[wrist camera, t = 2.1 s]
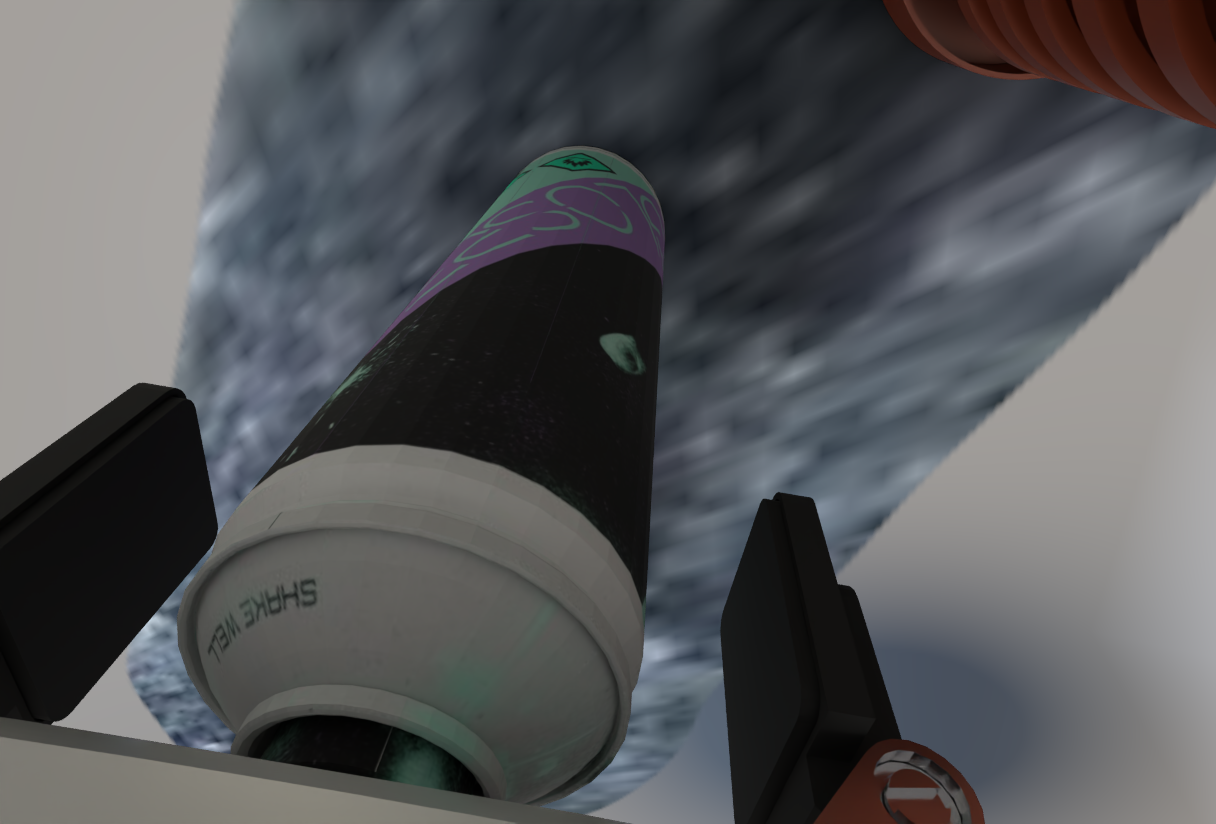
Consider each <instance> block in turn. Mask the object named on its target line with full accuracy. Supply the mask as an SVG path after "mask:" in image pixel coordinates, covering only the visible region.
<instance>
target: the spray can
mask: <svg viewBox="0 0 1216 824" xmlns="http://www.w3.org/2000/svg"><path fill="white" fill-rule="evenodd" d="M664 248H665V228H664V218H663V214H662V210H661V206H660V202H659V200H658V198H657V196H656V194H655V192H654V189H653V188H652V186H651V185H650V183H649V182H648V181H647V179H646V178H645V177H644V175H643V174H642V173H641V172H640V171H639V170H638V169H636V168H635V167H634V166H633V165H632V164H631V163H630V162H628V161H626V160H625V159H623V158H622V157H620V156H618V155H617V154H615V153H612V152H609V151H606V150H603V149H600V148H595V147H588V146H571V147H563V148H560V149H557V150H553V151H550V152H548V153H546V154H544V155H542V156H540V157H538V158H537V159H535V160H534V161H532V162H531V163H530V164H529V165H528V166H526V167H525V168H524V169H523V170H522V171H521V172H519V174H518V175H517V176H516V177H515V178H514V180H513V181H512V182H511V183H510V184H509V185H508V187H507V188H506V189H505V190H504V191H503V193H502V194H501V195H500V196H499V197H498V199H497V200H496V201H495V202H494V203H493V204H492V206H491V207H490V208H489V209H488V210H487V212H486V213H485V214H484V215H483V216H482V218H481V219H480V220H479V221H478V222H477V223H476V225H475V226H474V227H473V228H472V229H471V231H470V232H469V233H468V234H467V235H466V237H465V238H464V239H463V240H462V241H461V242H460V244H459V245H458V246H457V247H456V248H455V250H454V251H453V252H452V253H451V254H450V256H449V257H448V258H447V259H446V260H445V261H444V263H443V264H442V265H441V266H440V267H439V269H438V270H437V271H436V272H435V273H434V275H433V276H432V277H431V278H430V279H429V280H428V282H427V283H426V284H425V285H424V286H423V288H422V289H421V290H420V291H419V292H418V294H417V295H416V296H415V297H414V298H413V299H412V301H411V302H410V303H409V304H408V305H407V307H406V308H405V309H404V310H403V311H402V313H401V314H400V315H399V316H398V317H397V318H396V320H395V321H394V322H393V323H392V324H391V326H390V327H389V328H388V329H387V330H386V332H385V333H384V334H383V335H382V336H381V337H380V339H379V340H378V341H377V342H376V343H375V345H374V346H373V347H372V348H371V349H370V351H369V352H368V353H367V354H366V355H365V357H364V358H363V359H362V360H361V361H360V362H359V364H358V365H357V366H356V367H355V368H354V370H353V371H352V372H351V373H350V374H349V376H348V377H347V378H346V379H345V380H344V381H343V383H342V384H341V385H340V386H339V387H338V389H337V390H336V391H335V392H334V393H333V395H332V396H331V397H330V398H329V399H328V400H327V402H326V403H325V404H324V405H323V406H322V408H321V409H320V410H319V411H318V412H317V414H316V415H315V416H314V417H313V418H312V419H311V421H310V422H309V423H308V424H307V425H306V427H305V428H304V429H303V430H302V431H301V433H300V434H299V435H298V436H297V437H296V438H295V440H294V441H293V442H292V443H291V444H290V446H289V447H288V448H287V449H286V450H285V452H284V453H283V454H282V455H281V456H280V457H279V459H278V460H277V461H276V462H275V463H274V465H273V466H272V467H271V468H270V469H269V471H268V472H267V473H266V474H265V475H264V476H263V478H262V479H261V480H260V481H259V482H258V484H257V485H256V486H255V487H254V488H253V490H252V491H251V492H250V493H249V494H248V495H247V497H246V498H245V499H244V500H243V501H242V503H241V504H240V505H239V506H238V507H237V509H236V510H235V511H234V513H233V514H232V516H231V517H230V518H229V520H228V521H227V522H226V524H225V525H224V527H223V528H222V529H221V531H220V532H219V534H218V535H217V538H216V541H215V545H214V548H213V551H212V554H211V556H210V557H209V558H208V560H207V561H206V562H205V563H204V565H203V566H202V567H201V569H200V570H199V571H198V573H197V574H196V575H195V577H194V578H193V580H192V581H191V582H190V584H189V585H188V586H187V588H186V589H185V592H184V595H183V598H182V602H181V605H180V609H179V612H178V615H177V631H178V647H179V650H180V653H181V656H182V659H183V661H184V664H185V667H186V670H187V673H188V676H189V677H190V679H191V681H192V682H193V684H194V686H195V687H196V689H197V690H198V692H199V694H200V695H201V697H202V698H203V700H204V702H205V703H206V704H207V705H208V706H209V707H210V709H211V710H212V711H213V712H214V713H215V714H216V715H217V716H218V717H219V719H220V720H221V721H222V722H223V723H224V724H225V725H226V726H227V727H228V728H229V729H230V730H231V731H232V732H234V733H235V734H236V737H235V739H234V741H233V744H232V746H231V754H232V755H238V756H244V757H250V758H256V759H262V760H268V761H274V762H280V763H286V764H292V765H298V766H304V767H310V768H316V769H322V770H328V771H333V772H339V773H345V774H351V775H357V776H363V777H369V778H375V779H381V780H387V781H393V782H399V783H405V784H410V785H416V786H422V787H428V788H433V789H439V790H445V791H451V792H457V793H462V794H468V795H474V796H480V797H485V798H491V799H497V800H503V801H508V802H514V803H520V804H526V805H531V806H537V807H540V806H542V805H545V804H548V803H551V802H553V801H556V800H559V799H562V798H564V797H566V796H568V795H570V794H571V793H573V792H575V791H577V790H578V789H580V788H582V787H583V786H585V785H587V784H588V783H590V782H592V781H593V780H594V779H595V778H596V777H597V776H598V775H599V774H600V773H601V772H602V771H603V770H604V769H605V768H606V767H607V766H608V765H609V764H610V763H611V762H612V761H613V759H614V757H615V756H616V754H617V752H618V750H619V749H620V747H621V745H622V744H623V742H624V740H625V736H626V732H627V727H628V722H629V718H630V713H631V698H632V692H633V690H634V688H635V686H636V684H637V681H638V676H639V672H640V667H641V663H642V658H643V645H644V627H645V608H646V589H647V570H648V551H649V532H650V513H651V494H652V475H653V456H654V437H655V418H656V399H657V381H658V362H659V343H660V324H661V305H662V286H663V267H664Z"/></svg>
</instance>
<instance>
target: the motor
mask: <svg viewBox="0 0 1216 824" xmlns="http://www.w3.org/2000/svg"><path fill="white" fill-rule="evenodd" d="M883 3H884V5H885V7H886V9H887V11H888V13H889V14H890V16H891V18H892V19H893V21H894V22H895V24H896V25H897V26H898V28H899V29H900V30H901V32H902V33H903V34H904V35H905V36H906V37H907V38H908V39H909V40H910V41H911V42H912V43H914V44H915V45H916V46H917V47H919V48H920V49H921V50H923V51H924V52H926V53H928V54H929V55H931V56H933V57H935V58H937V59H939V60H942V61H944V62H947V63H950V64H952V65H955V66H958V67H961V68H964V69H966V70H969V71H972V72H975V73H978V74H981V75H985V76H989V77H994V78H1001V79H1012V80H1026V79H1038V78H1044V77H1045V78H1048V79H1051V80H1056V81H1060V82H1063V83H1065V84H1068V85H1071V86H1075V87H1078V88H1081V89H1085V90H1088V91H1091V92H1095V93H1099V94H1104V95H1106V96H1109V97H1111V98H1115V99H1118V100H1121V101H1124V102H1128V103H1131V104H1134V105H1137V106H1141V107H1144V108H1148V109H1153V110H1157V111H1161V112H1163V113H1166V114H1168V115H1171V116H1174V117H1177V118H1181V119H1184V120H1187V121H1190V122H1194V123H1197V124H1200V125H1204V126H1207V127H1210V128H1215V129H1216V0H883Z"/></svg>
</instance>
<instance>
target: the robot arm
mask: <svg viewBox="0 0 1216 824" xmlns="http://www.w3.org/2000/svg"><path fill="white" fill-rule="evenodd" d="M217 531H218V523H217V518H216V512H215V507H214V502H213V497H212V492H211V486H210V481H209V476H208V471H207V466H206V460H205V455H204V450H203V445H202V439H201V434H200V429H199V424H198V419H197V413H196V408H195V405H194V403H193V402H192V401H191V400H188V399H187V398H186V396H185V394H184V393H183V391H182V390H179V389H177V388H172V387H166V386H159V385H154V384H148V383H138V384H136V385H134V386H132V387H131V388H130V389H128V390H127V391H126V392H124V393H123V394H121V395H120V396H118V397H117V398H116V399H114V400H113V401H111V402H110V403H109V404H107V405H106V406H104V407H103V408H102V409H100V410H99V411H98V412H96V413H95V414H93V415H92V416H90V417H89V418H88V419H86V420H85V421H83V422H82V423H81V424H79V425H78V426H76V427H75V428H74V429H72V430H71V431H69V432H68V433H67V434H65V435H64V436H62V437H61V438H60V439H58V440H57V441H55V442H54V443H53V444H51V445H50V446H48V447H47V448H45V449H44V450H43V451H41V452H40V453H39V454H37V455H36V456H35V457H33V458H31V459H30V460H29V461H27V462H26V463H24V464H23V465H22V466H20V467H19V468H17V469H16V470H15V471H13V472H12V473H10V474H9V475H8V476H6V477H5V478H3V479H2V480H1V481H0V824H630V823H625V822H619V821H614V820H609V819H604V818H599V817H593V816H588V815H583V814H578V813H572V812H566V811H560V810H555V809H549V808H543V807H537V806H531V805H526V804H520V803H514V802H508V801H503V800H497V799H491V798H485V797H480V796H474V795H468V794H462V793H457V792H451V791H445V790H439V789H433V788H428V787H422V786H416V785H410V784H405V783H399V782H393V781H387V780H381V779H375V778H369V777H363V776H357V775H351V774H345V773H339V772H333V771H328V770H322V769H316V768H310V767H304V766H298V765H292V764H286V763H280V762H274V761H268V760H262V759H256V758H250V757H244V756H238V755H232V754H226V753H220V752H214V751H208V750H202V749H196V748H190V747H184V746H178V745H171V744H165V743H159V742H153V741H147V740H140V739H134V738H128V737H122V736H116V735H110V734H103V733H97V732H91V731H85V730H79V729H73V728H67V727H61V726H54V725H51V724H52V723H53V722H54V721H55V722H56V721H60V720H62V719H64V718H65V717H67V716H68V715H69V714H70V713H71V712H72V711H73V710H74V708H75V707H76V706H77V705H78V704H79V703H80V701H81V700H82V699H83V698H84V697H85V696H86V694H87V693H88V692H89V691H90V690H91V688H92V687H93V686H94V685H95V684H96V683H97V681H98V680H99V679H100V678H101V677H102V676H103V674H104V673H105V672H106V671H107V670H108V668H109V667H110V666H111V665H112V664H113V663H114V661H115V660H116V659H117V658H118V657H119V655H120V654H121V653H122V652H123V651H124V649H125V648H126V647H127V646H128V645H129V644H130V642H131V641H132V640H133V639H134V638H135V636H136V635H137V634H138V633H139V632H140V631H141V629H142V628H143V627H144V626H145V625H146V623H147V622H148V621H149V620H150V619H151V618H152V616H153V615H154V614H155V613H156V612H157V610H158V609H159V608H160V607H161V606H162V605H163V603H164V602H165V601H166V600H167V599H168V597H169V596H170V595H171V594H172V593H173V592H174V590H175V589H176V588H177V587H178V586H179V584H180V583H181V582H182V581H183V580H184V579H185V577H186V576H187V575H188V574H189V573H190V571H191V570H192V569H193V568H194V567H195V566H196V564H197V563H198V562H199V561H200V560H201V558H202V557H203V556H204V555H205V554H206V553H207V551H208V550H209V549H210V548H211V546H212V545H213V543H214V541H215V539H216V536H217ZM720 631H721V647H722V660H723V674H724V687H725V699H726V713H727V727H728V740H729V754H730V766H731V780H732V794H733V806H734V819H735V824H985V822H984V816H983V810H982V807H981V805H980V803H979V801H978V798H977V796H976V794H975V792H974V790H973V789H972V788H971V786H970V785H969V783H968V782H967V781H966V779H965V778H964V777H963V775H962V774H961V773H960V772H959V771H958V770H957V769H956V768H955V767H954V766H953V765H951V764H950V763H949V762H948V761H947V760H946V759H945V758H943V757H942V756H940V755H939V754H937V753H935V752H934V751H932V750H931V749H929V748H928V747H926V746H923V745H920V744H917V743H914V742H911V741H909V740H902V739H901V735H900V732H899V729H898V726H897V723H896V719H895V716H894V713H893V710H892V707H891V703H890V700H889V697H888V694H887V690H886V687H885V684H884V681H883V677H882V674H881V671H880V668H879V664H878V662H877V658H876V655H875V652H874V648H873V645H872V642H871V639H870V635H869V632H868V629H867V626H866V622H865V619H864V616H863V613H862V610H861V607H860V603H859V600H858V598H857V595H856V593H855V591H854V590H853V589H852V588H851V587H850V586H845V585H840V584H837V580H836V576H835V573H834V569H833V566H832V562H831V559H830V555H829V552H828V548H827V544H826V541H825V537H824V534H823V530H822V527H821V523H820V520H819V516H818V513H817V509H816V506H815V503H814V500H813V499H812V498H809V497H804V496H798V495H792V494H786V493H780V492H778V493H776V494H775V495H774V497H773V499H772V500H769V499H763V500H762V501H761V503H760V506H759V509H758V511H757V514H756V517H755V520H754V523H753V526H752V529H751V532H750V535H749V538H748V541H747V543H746V546H745V549H744V552H743V555H742V558H741V561H740V564H739V567H738V570H737V572H736V575H735V578H734V581H733V584H732V587H731V590H730V593H729V596H728V599H727V602H726V604H725V607H724V610H723V614H722V619H721V630H720Z"/></svg>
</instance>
